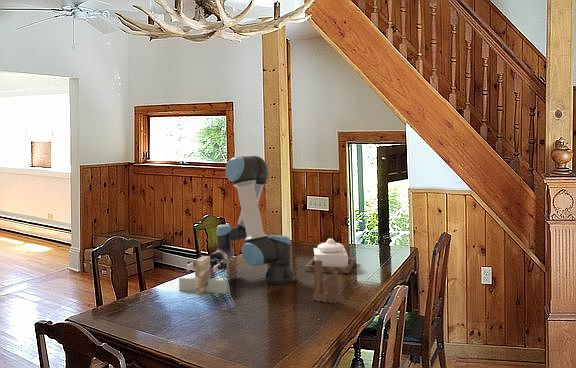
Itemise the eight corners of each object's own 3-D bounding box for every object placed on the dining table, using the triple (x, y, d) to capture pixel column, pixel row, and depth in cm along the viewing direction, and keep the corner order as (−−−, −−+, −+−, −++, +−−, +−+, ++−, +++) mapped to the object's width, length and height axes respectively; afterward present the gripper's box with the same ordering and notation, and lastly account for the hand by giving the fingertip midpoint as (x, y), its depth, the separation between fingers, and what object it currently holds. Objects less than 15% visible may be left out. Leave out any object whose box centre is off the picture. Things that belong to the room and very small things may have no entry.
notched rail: (227, 292, 277) (227, 279, 276) (226, 293, 275) (225, 280, 275) (181, 289, 283) (180, 277, 283) (179, 290, 281) (179, 278, 281)
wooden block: (334, 304, 256) (334, 263, 255) (312, 300, 262) (312, 261, 260) (338, 301, 260) (338, 262, 258) (316, 298, 265) (316, 259, 263)
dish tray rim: (355, 263, 332) (355, 258, 332) (348, 273, 309) (348, 268, 309) (314, 261, 338) (314, 256, 338) (304, 271, 315) (304, 265, 315)
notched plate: (210, 288, 284) (209, 256, 282) (202, 294, 274) (201, 260, 272) (204, 288, 285) (203, 255, 283) (195, 293, 275) (194, 260, 273)
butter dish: (348, 270, 315) (348, 241, 313) (314, 271, 315) (314, 241, 314) (345, 263, 332) (345, 235, 331) (313, 263, 333) (313, 235, 331)
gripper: (240, 267, 293) (225, 278, 273) (194, 265, 300) (176, 275, 279) (240, 252, 293) (225, 262, 272) (194, 250, 299) (176, 259, 279)
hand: (200, 268), depth 276 cm, fingers open, 13 cm apart
